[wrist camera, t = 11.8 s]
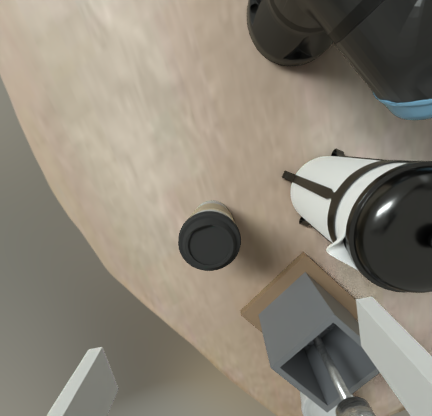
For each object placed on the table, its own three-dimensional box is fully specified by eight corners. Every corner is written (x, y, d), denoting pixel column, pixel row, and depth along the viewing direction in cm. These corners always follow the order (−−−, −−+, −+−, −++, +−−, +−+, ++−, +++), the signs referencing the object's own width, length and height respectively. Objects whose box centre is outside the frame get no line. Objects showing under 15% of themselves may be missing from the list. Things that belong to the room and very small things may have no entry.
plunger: (307, 287, 50) (371, 390, 29) (340, 317, 51) (425, 436, 30) (271, 319, 51) (307, 438, 30) (305, 347, 53) (361, 479, 32)
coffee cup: (242, 230, 50) (251, 266, 36) (198, 246, 51) (190, 286, 37) (225, 187, 48) (228, 206, 34) (181, 204, 49) (165, 229, 35)
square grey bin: (303, 251, 51) (335, 292, 37) (363, 306, 54) (413, 363, 40) (240, 310, 54) (247, 368, 40) (299, 359, 57) (326, 429, 43)
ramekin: (354, 376, 58) (367, 398, 53) (330, 412, 61) (340, 436, 56) (309, 359, 57) (318, 380, 52) (287, 396, 60) (293, 420, 55)
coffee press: (336, 241, 51) (496, 371, 21) (264, 206, 49) (330, 295, 20) (388, 159, 47) (666, 184, 18) (311, 119, 45) (477, 73, 16)
